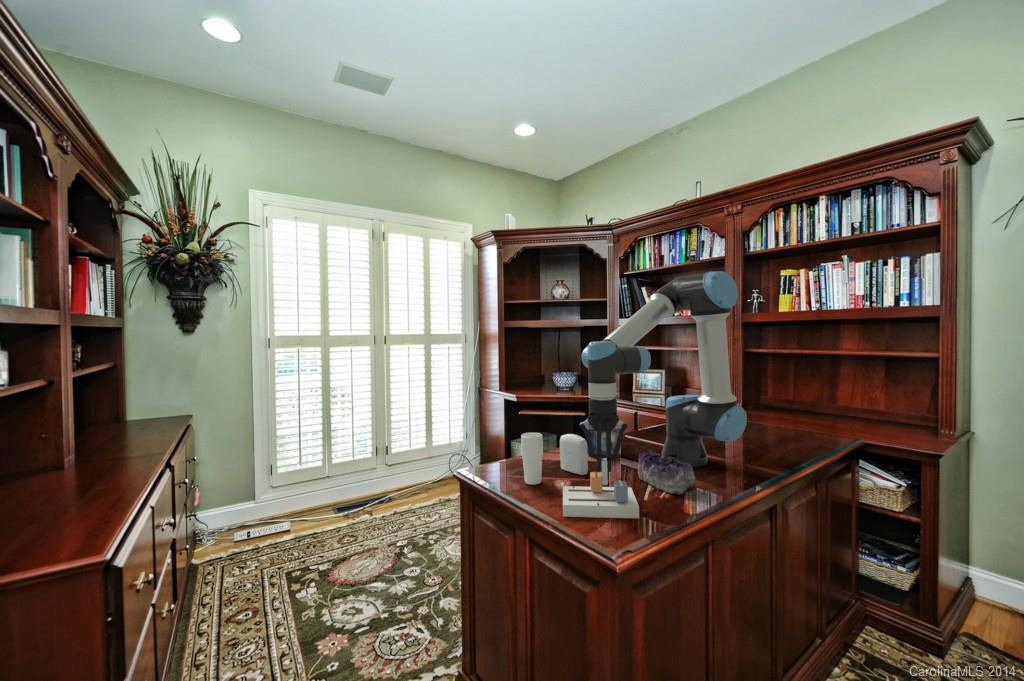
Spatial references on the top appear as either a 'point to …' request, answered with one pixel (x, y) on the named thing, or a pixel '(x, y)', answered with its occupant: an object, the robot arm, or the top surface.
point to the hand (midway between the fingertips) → (604, 483)
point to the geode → (665, 473)
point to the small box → (602, 440)
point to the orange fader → (596, 481)
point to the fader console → (597, 503)
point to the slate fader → (620, 491)
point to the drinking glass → (532, 457)
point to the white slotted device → (573, 454)
